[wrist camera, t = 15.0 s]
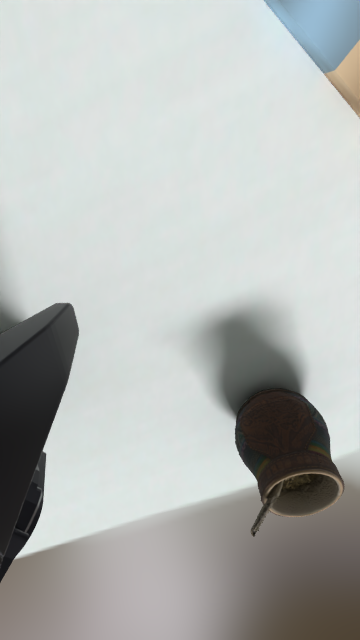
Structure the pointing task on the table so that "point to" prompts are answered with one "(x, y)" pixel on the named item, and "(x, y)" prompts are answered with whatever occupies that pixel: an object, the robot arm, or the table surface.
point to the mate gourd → (287, 454)
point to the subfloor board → (327, 39)
